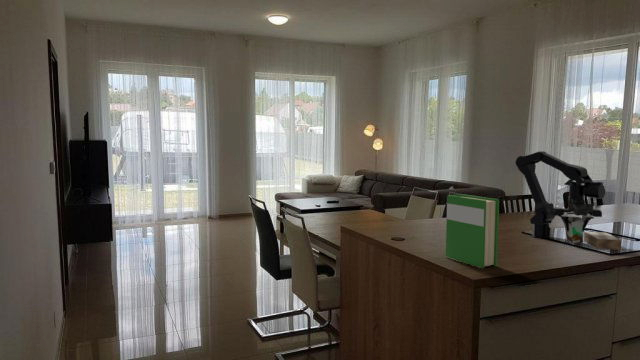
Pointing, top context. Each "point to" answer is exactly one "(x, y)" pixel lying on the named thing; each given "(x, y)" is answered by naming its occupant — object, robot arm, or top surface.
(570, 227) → the food container
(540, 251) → the top surface
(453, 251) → the hardback book
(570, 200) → the robot arm
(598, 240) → the base board
